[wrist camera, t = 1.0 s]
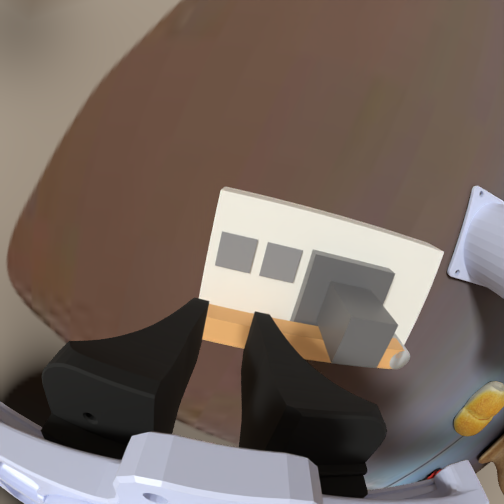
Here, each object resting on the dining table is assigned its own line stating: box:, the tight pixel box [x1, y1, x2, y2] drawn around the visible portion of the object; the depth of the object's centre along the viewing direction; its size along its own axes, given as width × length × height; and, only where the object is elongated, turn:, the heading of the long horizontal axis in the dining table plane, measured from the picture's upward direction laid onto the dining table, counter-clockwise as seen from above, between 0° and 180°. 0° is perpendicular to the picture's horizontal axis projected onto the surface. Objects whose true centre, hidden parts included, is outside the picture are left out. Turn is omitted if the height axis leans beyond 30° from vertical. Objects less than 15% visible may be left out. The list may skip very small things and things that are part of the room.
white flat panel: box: [199, 187, 444, 345], centre depth 20 cm, size 16×10×3 cm, turn 77°
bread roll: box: [454, 381, 504, 436], centre depth 25 cm, size 8×9×4 cm
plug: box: [290, 249, 398, 368], centre depth 17 cm, size 6×6×8 cm
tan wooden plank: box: [202, 304, 410, 369], centre depth 18 cm, size 15×2×3 cm, turn 77°
